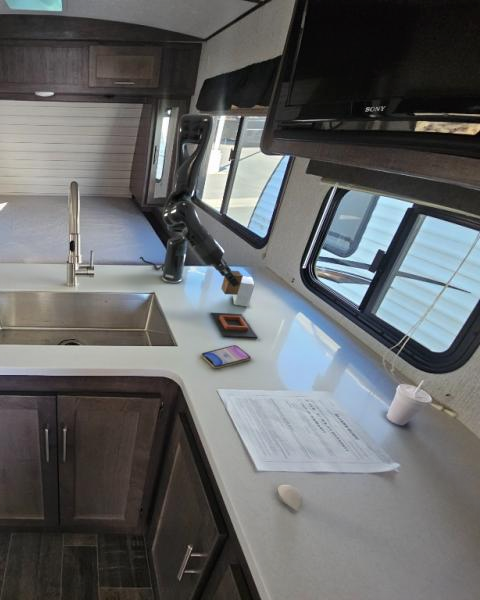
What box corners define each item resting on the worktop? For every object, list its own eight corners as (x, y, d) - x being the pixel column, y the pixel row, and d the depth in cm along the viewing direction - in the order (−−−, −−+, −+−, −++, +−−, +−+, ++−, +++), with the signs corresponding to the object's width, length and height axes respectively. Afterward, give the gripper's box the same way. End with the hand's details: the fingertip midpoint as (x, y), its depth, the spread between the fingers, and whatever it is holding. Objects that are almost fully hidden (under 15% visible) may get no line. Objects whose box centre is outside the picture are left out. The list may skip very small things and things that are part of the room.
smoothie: (378, 419, 84) (405, 379, 78) (381, 406, 88) (407, 367, 82) (411, 434, 80) (442, 393, 74) (412, 419, 84) (442, 379, 78)
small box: (248, 307, 135) (255, 284, 130) (233, 304, 137) (240, 282, 132) (246, 298, 142) (252, 277, 137) (232, 296, 144) (238, 275, 138)
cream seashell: (293, 489, 68) (297, 482, 66) (306, 515, 63) (311, 507, 62) (272, 488, 68) (276, 481, 67) (284, 513, 63) (288, 506, 62)
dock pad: (210, 314, 130) (211, 309, 129) (240, 315, 129) (242, 311, 128) (223, 337, 116) (224, 332, 115) (257, 339, 115) (258, 334, 114)
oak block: (221, 288, 119) (225, 270, 115) (233, 289, 119) (238, 270, 115) (224, 294, 115) (230, 275, 112) (237, 294, 115) (242, 275, 111)
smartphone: (252, 359, 105) (253, 357, 104) (214, 370, 100) (215, 367, 100) (235, 346, 111) (235, 344, 110) (199, 355, 106) (199, 353, 106)
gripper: (223, 248, 102) (251, 284, 107) (210, 234, 115) (236, 267, 120) (202, 263, 105) (231, 297, 110) (192, 248, 118) (218, 279, 123)
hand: (233, 281), depth 115 cm, fingers closed on oak block, 4 cm apart
